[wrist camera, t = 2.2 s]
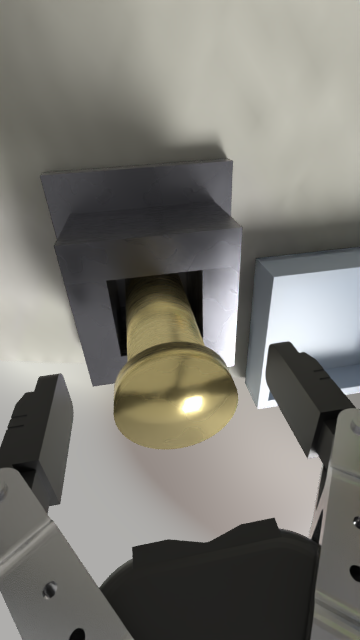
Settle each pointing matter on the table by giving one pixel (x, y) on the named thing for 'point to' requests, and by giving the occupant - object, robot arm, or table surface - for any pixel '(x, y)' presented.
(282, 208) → the table surface
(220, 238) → the block
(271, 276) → the tray
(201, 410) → the pin
